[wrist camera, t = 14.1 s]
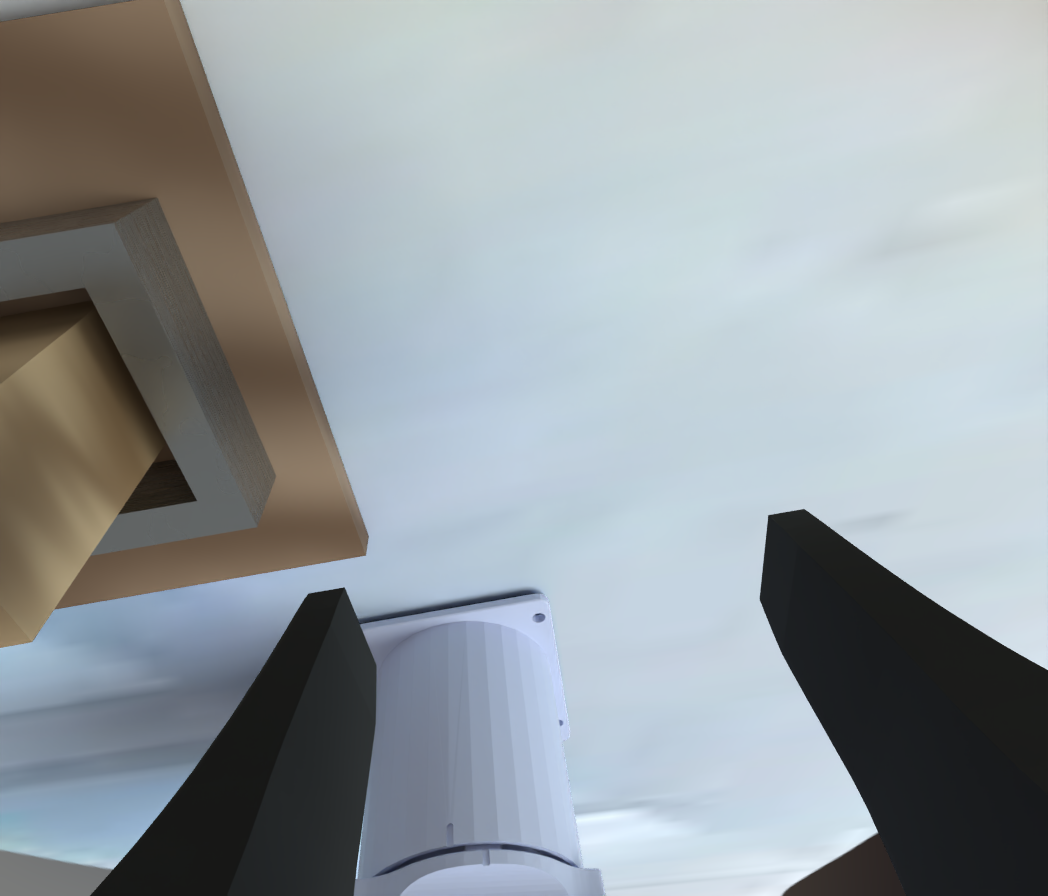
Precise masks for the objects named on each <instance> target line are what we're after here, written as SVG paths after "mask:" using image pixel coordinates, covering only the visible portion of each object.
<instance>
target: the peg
mask: <svg viewBox="0 0 1048 896" xmlns="http://www.w3.org/2000/svg"><path fill="white" fill-rule="evenodd" d="M165 444H166V440H165V439H164V437H163V435H162V433H161V431H160V429H159V427H158V425H157V423H156V421H155V419H154V418H153V416H152V414H151V412H150V410H149V408H148V406H147V404H146V402H145V400H144V399H143V397H142V395H141V393H140V391H139V389H138V387H137V385H136V383H135V381H134V379H133V378H132V376H131V374H130V372H129V370H128V368H127V366H126V364H125V362H124V360H123V358H122V357H121V355H120V353H119V351H118V349H117V347H116V345H115V343H114V341H113V339H112V338H111V336H110V334H109V332H108V330H107V328H106V326H105V324H104V322H103V320H102V318H101V317H100V315H99V313H98V311H97V309H96V307H95V305H94V303H93V301H86V302H81V303H75V304H69V305H64V306H58V307H53V308H47V309H42V310H36V311H30V312H25V313H19V314H14V315H8V316H3V317H0V648H2V647H8V646H13V645H18V644H24V643H29V642H32V641H33V640H34V638H35V637H36V635H37V634H38V632H39V631H40V630H41V628H42V627H43V625H44V624H45V622H46V621H47V619H48V618H49V616H50V615H51V613H52V612H53V610H54V609H55V607H56V606H57V604H58V603H59V601H60V600H61V598H62V597H63V595H64V594H65V592H66V591H67V589H68V588H69V586H70V585H71V583H72V582H73V580H74V579H75V577H76V576H77V575H78V573H79V572H80V570H81V569H82V567H83V566H84V564H85V563H86V561H87V560H88V558H89V557H90V555H91V554H92V552H93V551H94V549H95V548H96V546H97V545H98V543H99V542H100V540H101V539H102V537H103V536H104V534H105V533H106V531H107V530H108V528H109V527H110V525H111V524H112V522H113V521H114V519H115V518H116V517H117V515H118V514H119V512H120V511H121V509H122V508H123V506H124V505H125V503H126V502H127V500H128V499H129V497H130V496H131V494H132V493H133V491H134V490H135V488H136V487H137V485H138V484H139V482H140V481H141V479H142V478H143V476H144V475H145V473H146V472H147V470H148V469H149V467H150V466H151V464H152V463H153V462H154V460H155V459H156V457H157V456H158V454H159V453H160V451H161V450H162V448H163V447H164V445H165Z"/></svg>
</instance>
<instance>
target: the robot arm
mask: <svg viewBox="0 0 1048 896" xmlns="http://www.w3.org/2000/svg"><path fill="white" fill-rule="evenodd" d="M760 601H761V604H762V606H763V609H764V611H765V614H766V616H767V619H768V621H769V624H770V626H771V629H772V631H773V634H774V636H775V638H776V641H777V643H778V645H779V648H780V650H781V652H782V655H783V656H784V658H785V660H786V662H787V664H788V666H789V667H790V669H791V671H792V673H793V675H794V676H795V678H796V680H797V682H798V684H799V685H800V687H801V689H802V691H803V693H804V694H805V696H806V698H807V700H808V701H809V703H810V705H811V707H812V709H813V710H814V712H815V714H816V716H817V717H818V719H819V721H820V723H821V724H822V726H823V728H824V730H825V731H826V733H827V735H828V737H829V739H830V740H831V742H832V744H833V746H834V747H835V749H836V751H837V753H838V754H839V756H840V758H841V760H842V761H843V763H844V765H845V767H846V769H847V770H848V772H849V774H850V776H851V777H852V779H853V781H854V783H855V785H856V787H857V789H858V791H859V793H860V795H861V797H862V799H863V801H864V802H865V804H866V806H867V808H868V811H869V813H870V815H871V817H872V819H873V822H874V824H875V826H876V828H877V830H878V833H879V835H880V837H881V839H882V841H883V844H884V846H885V848H886V850H887V853H888V855H889V857H890V859H891V862H892V864H893V866H894V868H895V870H896V873H897V875H898V877H899V880H900V882H901V884H902V887H903V889H904V891H905V894H906V896H1048V670H1047V669H1045V668H1043V667H1041V666H1039V665H1037V664H1036V663H1034V662H1032V661H1030V660H1028V659H1027V658H1025V657H1023V656H1021V655H1019V654H1018V653H1016V652H1014V651H1013V650H1011V649H1009V648H1007V647H1006V646H1004V645H1002V644H1001V643H999V642H997V641H996V640H994V639H992V638H991V637H989V636H987V635H986V634H984V633H983V632H981V631H979V630H978V629H976V628H975V627H973V626H971V625H970V624H968V623H967V622H965V621H963V620H962V619H960V618H959V617H957V616H955V615H954V614H952V613H951V612H949V611H948V610H946V609H945V608H943V607H941V606H940V605H938V604H937V603H935V602H934V601H932V600H931V599H929V598H928V597H926V596H925V595H923V594H922V593H920V592H919V591H917V590H916V589H915V588H913V587H912V586H910V585H909V584H907V583H906V582H904V581H903V580H901V579H900V578H899V577H897V576H896V575H894V574H893V573H891V572H890V571H889V570H887V569H886V568H884V567H883V566H882V565H880V564H879V563H877V562H876V561H875V560H873V559H872V558H870V557H869V556H868V555H866V554H865V553H864V552H862V551H861V550H859V549H858V548H857V547H855V546H854V545H853V544H851V543H850V542H849V541H847V540H846V539H844V538H843V537H842V536H840V535H839V534H838V533H836V532H835V531H834V530H832V529H831V528H830V527H828V526H827V525H825V524H824V523H823V522H821V521H820V520H819V519H817V518H816V517H814V516H813V515H812V514H810V513H809V512H808V511H806V510H805V509H802V510H796V511H790V512H785V513H779V514H773V515H768V525H767V534H766V544H765V553H764V563H763V573H762V582H761V592H760ZM538 613H542V614H540V615H535V614H538ZM569 737H570V728H569V722H568V715H567V709H566V703H565V697H564V691H563V685H562V678H561V672H560V666H559V660H558V654H557V647H556V641H555V635H554V629H553V623H552V617H551V610H550V604H549V600H548V598H547V597H546V596H545V595H543V594H530V595H524V596H519V597H513V598H507V599H501V600H496V601H490V602H484V603H479V604H473V605H467V606H461V607H456V608H450V609H444V610H438V611H433V612H427V613H421V614H416V615H410V616H404V617H398V618H393V619H387V620H381V621H376V622H370V623H364V624H359V621H358V619H357V616H356V614H355V612H354V609H353V607H352V604H351V602H350V599H349V597H348V595H347V592H346V590H345V588H339V589H333V590H327V591H321V592H315V593H310V594H308V595H307V597H306V598H305V599H304V601H303V602H302V604H301V606H300V607H299V609H298V610H297V612H296V614H295V615H294V617H293V619H292V620H291V622H290V624H289V625H288V627H287V629H286V631H285V632H284V634H283V635H282V637H281V639H280V640H279V642H278V644H277V645H276V647H275V649H274V650H273V652H272V654H271V655H270V657H269V658H268V660H267V662H266V663H265V665H264V667H263V668H262V670H261V671H260V673H259V674H258V676H257V678H256V679H255V681H254V682H253V684H252V685H251V687H250V688H249V690H248V691H247V693H246V695H245V696H244V698H243V699H242V701H241V702H240V704H239V705H238V707H237V708H236V710H235V712H234V713H233V715H232V716H231V717H230V719H229V720H228V722H227V723H226V725H225V726H224V728H223V729H222V730H221V732H220V733H219V735H218V736H217V738H216V739H215V740H214V742H213V743H212V745H211V746H210V747H209V749H208V750H207V752H206V753H205V754H204V756H203V757H202V759H201V760H200V762H199V763H198V764H197V766H196V767H195V769H194V770H193V771H192V773H191V774H190V775H189V777H188V778H187V779H186V781H185V782H184V783H183V785H182V786H181V787H180V789H179V790H178V791H177V793H176V794H175V795H174V797H173V798H172V799H171V800H170V802H169V803H168V804H167V805H166V807H165V808H164V809H163V811H162V812H161V813H160V814H159V816H158V817H157V818H156V819H155V820H154V822H153V823H152V824H151V825H150V827H149V828H148V829H147V830H146V832H145V833H144V834H143V835H142V837H141V838H140V839H139V840H138V841H137V843H136V844H135V845H134V846H133V847H132V848H131V850H130V851H129V852H128V853H127V854H126V855H125V857H124V858H123V859H122V860H121V861H120V862H119V863H118V865H117V866H116V867H115V868H114V869H113V870H112V872H111V873H110V874H109V875H108V876H107V877H106V879H105V880H104V881H103V882H102V883H101V884H100V885H99V886H98V887H97V889H96V890H95V891H94V892H93V893H92V894H91V895H90V896H606V895H605V889H604V884H603V879H602V873H601V870H599V869H586V868H584V867H583V861H582V855H581V849H580V843H579V837H578V831H577V825H576V819H575V813H574V807H573V801H572V795H571V789H570V783H569V777H568V771H567V766H566V760H565V754H564V748H563V741H565V740H567V739H568V738H569ZM364 809H365V810H364ZM363 816H364V820H363ZM362 823H363V830H362ZM361 830H362V840H361V850H360V860H359V870H358V879H355V878H356V868H357V860H358V852H359V845H360V838H361Z"/></svg>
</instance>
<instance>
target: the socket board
mask: <svg viewBox="0 0 1048 896" xmlns="http://www.w3.org/2000/svg"><path fill="white" fill-rule="evenodd" d="M86 301H93V303H94V305H95V307H96V309H97V311H98V313H99V315H100V317H101V318H102V320H103V322H104V324H105V326H106V328H107V330H108V332H109V334H110V336H111V338H112V339H113V341H114V343H115V345H116V347H117V349H118V351H119V353H120V355H121V357H122V358H123V360H124V362H125V364H126V366H127V368H128V370H129V372H130V374H131V376H132V378H133V379H134V381H135V383H136V385H137V387H138V389H139V391H140V393H141V395H142V397H143V399H144V400H145V402H146V404H147V406H148V408H149V410H150V412H151V414H152V416H153V418H154V419H155V421H156V423H157V425H158V427H159V429H160V431H161V433H162V435H163V437H164V439H165V440H166V444H165V445H164V447H163V448H162V450H161V451H160V453H159V454H158V456H157V457H156V459H155V460H154V462H153V463H152V464H151V466H150V467H149V469H148V470H147V472H146V473H145V475H144V476H143V478H142V479H141V481H140V482H139V484H138V485H137V487H136V488H135V490H134V491H133V493H132V494H131V496H130V497H129V499H128V500H127V502H126V503H125V505H124V506H123V508H122V509H121V511H120V512H119V514H118V515H117V517H116V518H115V519H114V521H113V522H112V524H111V525H110V527H109V528H108V530H107V531H106V533H105V534H104V536H103V537H102V539H101V540H100V542H99V543H98V545H97V546H96V548H95V549H94V551H93V552H92V554H91V555H90V557H89V558H88V560H87V561H86V563H85V564H84V566H83V567H82V569H81V570H80V572H79V573H78V575H77V576H76V577H75V579H74V580H73V582H72V583H71V585H70V586H69V588H68V589H67V591H66V592H65V594H64V595H63V597H62V598H61V600H60V601H59V603H58V604H57V606H56V607H55V609H60V608H65V607H71V606H77V605H83V604H89V603H94V602H100V601H106V600H112V599H117V598H123V597H129V596H135V595H141V594H146V593H152V592H158V591H164V590H169V589H175V588H181V587H187V586H192V585H198V584H204V583H210V582H216V581H221V580H227V579H233V578H239V577H244V576H250V575H256V574H262V573H268V572H273V571H279V570H285V569H291V568H296V567H302V566H308V565H314V564H320V563H325V562H331V561H337V560H343V559H348V558H354V557H360V556H366V551H367V544H368V537H369V536H368V533H367V531H366V528H365V525H364V522H363V519H362V516H361V514H360V511H359V508H358V505H357V502H356V499H355V497H354V494H353V491H352V488H351V485H350V482H349V480H348V477H347V474H346V471H345V468H344V465H343V463H342V460H341V457H340V454H339V451H338V448H337V446H336V443H335V440H334V437H333V434H332V431H331V429H330V426H329V423H328V420H327V417H326V414H325V412H324V409H323V406H322V403H321V400H320V397H319V395H318V392H317V389H316V386H315V383H314V380H313V378H312V375H311V372H310V369H309V366H308V363H307V361H306V358H305V355H304V352H303V349H302V346H301V344H300V341H299V338H298V335H297V332H296V329H295V327H294V324H293V321H292V318H291V315H290V312H289V310H288V307H287V304H286V301H285V298H284V295H283V293H282V290H281V287H280V284H279V281H278V278H277V276H276V273H275V270H274V267H273V264H272V261H271V259H270V256H269V253H268V250H267V247H266V244H265V242H264V239H263V236H262V233H261V230H260V227H259V225H258V222H257V219H256V216H255V213H254V210H253V208H252V205H251V202H250V199H249V196H248V193H247V191H246V188H245V185H244V182H243V179H242V176H241V174H240V171H239V168H238V165H237V162H236V159H235V157H234V154H233V151H232V148H231V145H230V142H229V140H228V137H227V134H226V131H225V128H224V125H223V123H222V120H221V117H220V114H219V111H218V108H217V106H216V103H215V100H214V97H213V94H212V91H211V89H210V86H209V83H208V80H207V77H206V74H205V72H204V69H203V66H202V63H201V60H200V57H199V55H198V52H197V49H196V46H195V43H194V40H193V38H192V35H191V32H190V29H189V26H188V23H187V21H186V18H185V15H184V12H183V9H182V6H181V4H180V1H179V0H134V1H128V2H121V3H115V4H109V5H103V6H96V7H90V8H84V9H78V10H71V11H65V12H59V13H53V14H46V15H40V16H34V17H28V18H22V19H15V20H9V21H3V22H0V317H3V316H8V315H14V314H19V313H25V312H30V311H36V310H42V309H47V308H53V307H58V306H64V305H69V304H75V303H81V302H86Z"/></svg>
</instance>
